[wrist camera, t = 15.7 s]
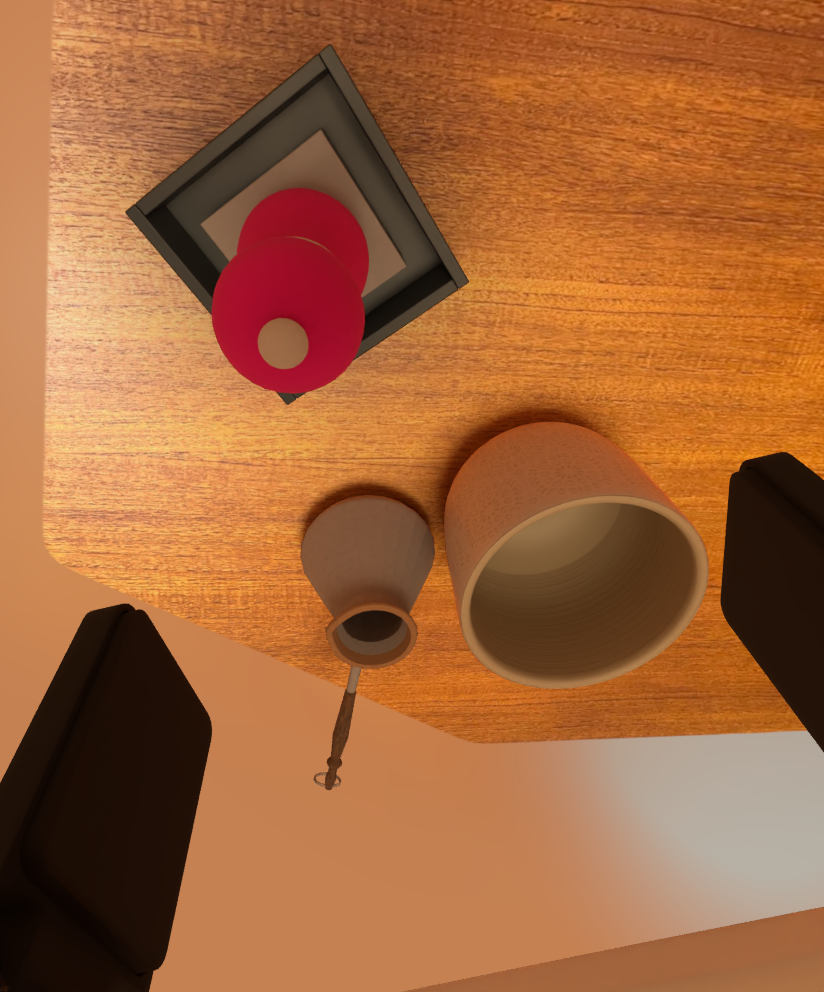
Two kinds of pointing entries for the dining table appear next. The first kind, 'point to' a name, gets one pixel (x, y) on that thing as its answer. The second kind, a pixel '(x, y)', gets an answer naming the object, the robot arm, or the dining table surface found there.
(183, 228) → the dark square tray
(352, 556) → the coffee pot
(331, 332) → the pepper mill
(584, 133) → the dining table surface
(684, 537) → the planter
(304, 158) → the brown square block
